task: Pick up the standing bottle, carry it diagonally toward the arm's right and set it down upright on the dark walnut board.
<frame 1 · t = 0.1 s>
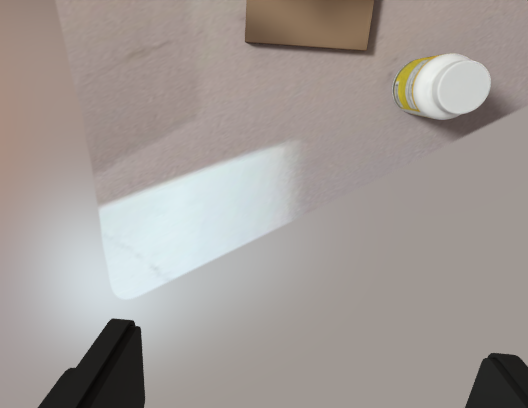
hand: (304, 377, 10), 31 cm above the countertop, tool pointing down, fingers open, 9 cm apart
supplement bottle: (416, 86, 36), on the countertop
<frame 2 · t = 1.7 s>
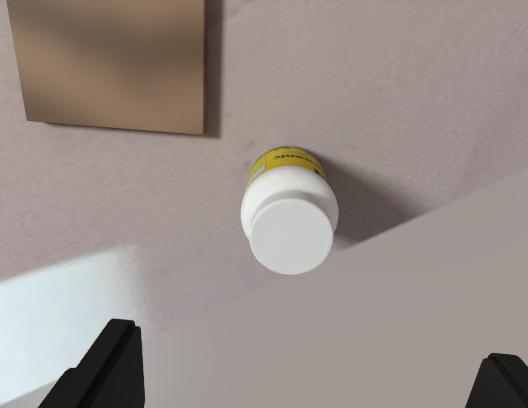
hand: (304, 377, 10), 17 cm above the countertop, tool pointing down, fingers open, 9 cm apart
supplement bottle: (286, 179, 26), on the countertop
walnut board: (113, 31, 22), on the countertop
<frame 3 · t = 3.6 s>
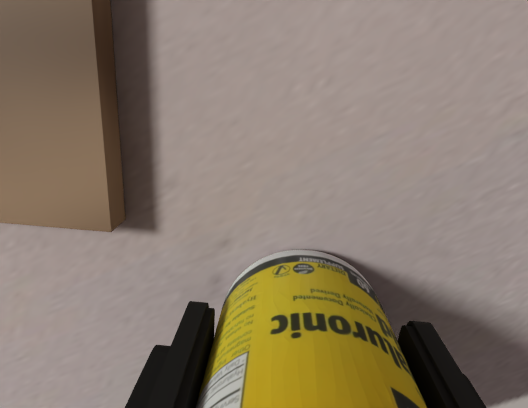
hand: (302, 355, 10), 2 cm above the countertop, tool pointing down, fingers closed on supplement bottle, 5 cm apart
supplement bottle: (299, 308, 12), on the countertop, touching gripper
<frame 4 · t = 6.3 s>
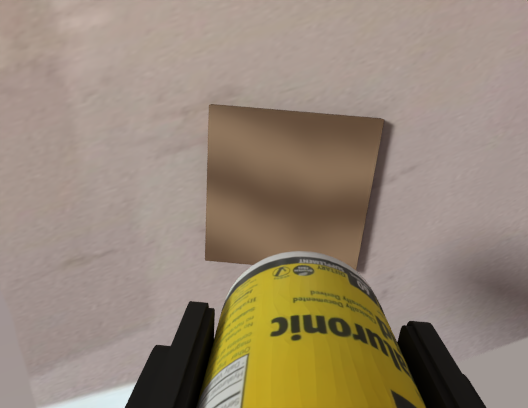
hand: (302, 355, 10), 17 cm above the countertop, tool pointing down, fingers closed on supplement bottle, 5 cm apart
supplement bottle: (299, 310, 12), point 15 cm above the countertop, touching gripper
walnut board: (287, 191, 27), on the countertop
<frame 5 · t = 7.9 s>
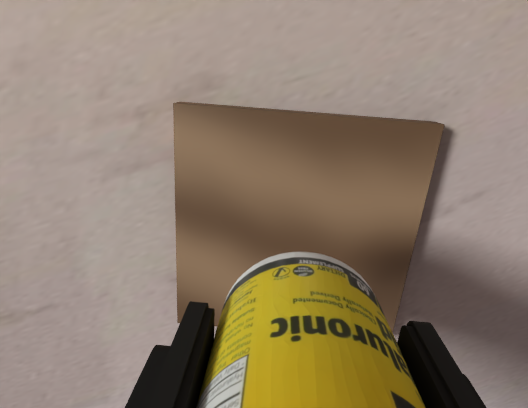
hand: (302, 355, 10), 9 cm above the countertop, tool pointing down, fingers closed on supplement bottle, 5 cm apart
supplement bottle: (299, 310, 12), point 6 cm above the countertop, touching gripper
walnut board: (293, 228, 18), on the countertop
when the fingers open (4 cm above the countertop, at t = 9.2 s): supplement bottle drops 1 cm, resting on walnut board.
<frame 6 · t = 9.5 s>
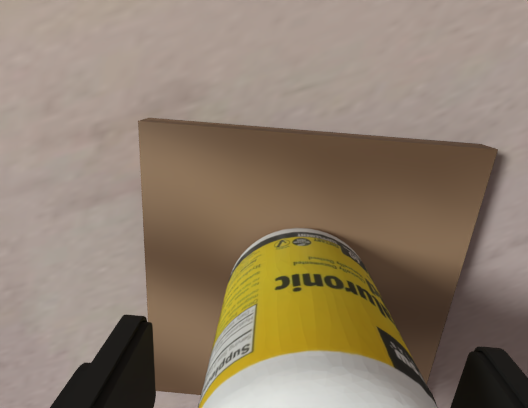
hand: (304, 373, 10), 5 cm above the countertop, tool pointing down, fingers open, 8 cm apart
supplement bottle: (297, 284, 14), point 1 cm above the countertop, touching walnut board
walnut board: (296, 275, 15), on the countertop
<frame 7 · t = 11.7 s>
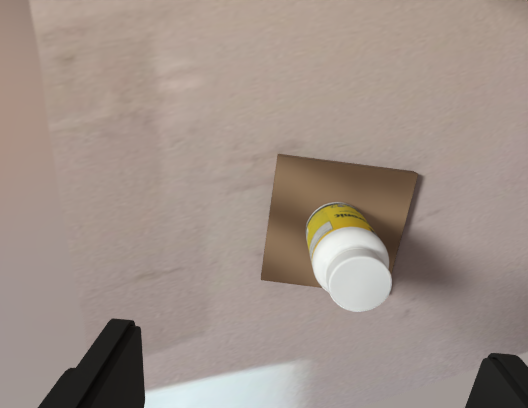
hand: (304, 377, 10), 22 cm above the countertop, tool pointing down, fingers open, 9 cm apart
supplement bottle: (334, 227, 31), point 1 cm above the countertop, touching walnut board
walnut board: (333, 226, 32), on the countertop
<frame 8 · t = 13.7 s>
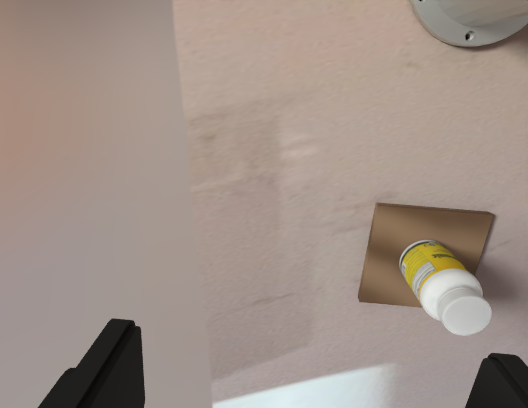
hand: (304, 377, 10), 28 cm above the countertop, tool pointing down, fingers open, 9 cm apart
supplement bottle: (422, 259, 38), point 1 cm above the countertop, touching walnut board
walnut board: (419, 256, 39), on the countertop
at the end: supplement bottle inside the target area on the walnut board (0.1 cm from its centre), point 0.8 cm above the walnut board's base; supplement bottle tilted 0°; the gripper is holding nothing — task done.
